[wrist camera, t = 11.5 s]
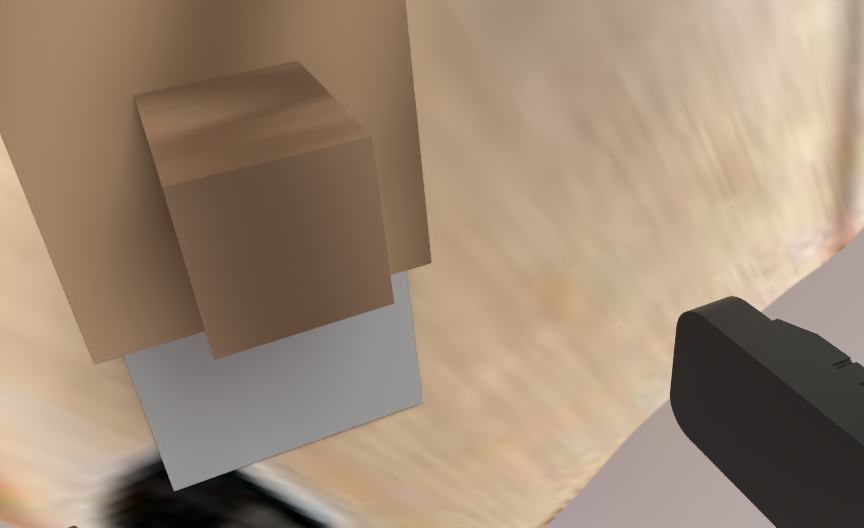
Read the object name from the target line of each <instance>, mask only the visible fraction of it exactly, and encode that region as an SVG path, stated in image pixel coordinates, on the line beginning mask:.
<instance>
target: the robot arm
mask: <svg viewBox="0 0 864 528" xmlns="http://www.w3.org/2000/svg"><path fill="white" fill-rule="evenodd" d="M670 401H671V406H672V410H673V413H674V416H675V418H676V420H677V422H678V424H679V426H680V427H681V429H682V431H683V432H684V433H685V435H686V436H687V437H688V438H689V439H690V440H691V441H692V442H693V443H694V444H695V445H696V446H697V447H698V448H699V449H700V450H701V451H702V452H703V453H704V454H705V455H706V456H707V457H708V458H709V459H710V460H711V461H712V462H713V464H715V466H716V467H717V468H718V469H719V470H721V472H722V473H723V474H724V475H725V476H726V477H727V478H728V479H729V480H730V481H731V482H732V483H733V484H734V485H735V486H736V487H737V488H738V489H739V490H740V491H741V492H742V493H743V494H744V495H745V496H746V497H747V498H748V499H749V500H750V501H751V502H752V503H753V504H754V505H755V506H756V507H757V508H758V509H759V510H760V511H761V512H762V513H763V514H764V515H765V516H766V517H767V518H768V519H769V520H770V521H771V522H772V523H773V524H774V525H775V527H776V528H864V367H863V366H862V365H860V364H859V363H857V362H856V363H852V362H851V360H850V357H849V356H847V355H846V354H845V353H843V352H842V351H840V350H839V349H838V348H836V347H835V346H833V345H832V344H830V343H829V342H828V341H826V340H825V339H823V338H822V337H820V336H819V335H818V334H815V333H813V332H810V331H808V330H805V329H802V328H800V327H797V326H795V325H792V324H790V323H787V322H785V321H782V320H779V319H776V320H773V321H772V320H770V319H769V318H768V317H766V316H765V315H764V314H762V313H761V312H759V311H758V310H757V309H755V308H754V307H753V306H751V305H750V304H749V303H747V302H746V301H744V300H743V299H741V298H738V297H734V296H731V297H726V298H724V299H721V300H718V301H715V302H712V303H709V304H707V305H704V306H701V307H698V308H695V309H693V310H690V311H687V312H684V313H683V314H682V315H681V316H680V317H679V319H678V322H677V327H676V337H675V348H674V358H673V368H672V378H671V388H670ZM69 528H77V527H76V526H71V527H69Z"/></svg>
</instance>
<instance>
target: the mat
mask: <svg viewBox="0 0 864 528" xmlns="http://www.w3.org/2000/svg"><path fill="white" fill-rule="evenodd" d="M391 283H392V290H393V298H394V304H391V305H388V306H385V307H382V308H379V309H376V310H372V311H369V312H366V313H363V314H360V315H356V316H353V317H350V318H347V319H344V320H340V321H337V322H334V323H331V324H328V325H325V326H321V327H318V328H315V329H312V330H309V331H305V332H302V333H299V334H296V335H293V336H289V337H286V338H283V339H280V340H277V341H273V342H270V343H267V344H264V345H261V346H258V347H254V348H251V349H248V350H245V351H242V352H238V353H235V354H232V355H229V356H226V357H222V358H219V359H216V360H214V358H213V355H212V351H211V348H210V345H209V342H208V338H207V335H206V332H205V331H204V332H201V333H198V334H194V335H191V336H188V337H184V338H181V339H178V340H174V341H171V342H168V343H164V344H161V345H158V346H155V347H151V348H148V349H145V350H141V351H138V352H135V353H131V354H128V355H125V356H123V357H124V360H125V363H126V365H127V368H128V371H129V373H130V376H131V378H132V381H133V384H134V386H135V389H136V392H137V394H138V397H139V400H140V402H141V405H142V408H143V410H144V413H145V415H146V418H147V421H148V423H149V426H150V429H151V431H152V434H153V437H154V439H155V442H156V445H157V447H158V450H159V452H160V455H161V458H162V460H163V463H164V466H165V468H166V471H167V474H168V476H169V479H170V482H171V484H172V487H173V489H174V491H176V490H179V489H182V488H185V487H188V486H190V485H193V484H196V483H199V482H202V481H204V480H207V479H210V478H213V477H216V476H219V475H221V474H224V473H227V472H230V471H233V470H235V469H238V468H241V467H244V466H247V465H249V464H252V463H255V462H258V461H261V460H263V459H266V458H269V457H272V456H275V455H277V454H280V453H283V452H286V451H289V450H291V449H294V448H297V447H300V446H303V445H305V444H308V443H311V442H314V441H317V440H319V439H322V438H325V437H328V436H331V435H333V434H336V433H339V432H342V431H345V430H347V429H350V428H353V427H356V426H359V425H362V424H364V423H367V422H370V421H373V420H376V419H378V418H381V417H384V416H387V415H390V414H392V413H395V412H398V411H401V410H404V409H406V408H409V407H412V406H415V405H418V404H420V403H422V396H421V387H420V379H419V371H418V362H417V354H416V346H415V338H414V329H413V321H412V313H411V304H410V296H409V288H408V280H407V271H403V272H400V273H396V274H393V275H391Z"/></svg>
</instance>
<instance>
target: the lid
mask: <svg viewBox="0 0 864 528" xmlns="http://www.w3.org/2000/svg"><path fill="white" fill-rule="evenodd" d="M0 134H1V137H2V139H3V142H4V144H5V147H6V149H7V151H8V154H9V156H10V159H11V161H12V164H13V166H14V169H15V171H16V174H17V176H18V178H19V181H20V183H21V186H22V188H23V191H24V193H25V196H26V198H27V201H28V203H29V205H30V208H31V210H32V213H33V215H34V218H35V220H36V223H37V225H38V228H39V230H40V232H41V235H42V237H43V240H44V242H45V245H46V247H47V250H48V252H49V255H50V257H51V259H52V262H53V264H54V267H55V269H56V272H57V274H58V277H59V279H60V282H61V284H62V287H63V289H64V291H65V294H66V296H67V299H68V301H69V304H70V306H71V309H72V311H73V314H74V316H75V318H76V321H77V323H78V326H79V328H80V331H81V333H82V336H83V338H84V341H85V343H86V345H87V348H88V350H89V353H90V355H91V358H92V360H93V363H94V365H95V364H98V363H102V362H105V361H108V360H111V359H115V358H118V357H121V356H125V355H128V354H131V353H135V352H138V351H141V350H145V349H148V348H151V347H155V346H158V345H161V344H164V343H168V342H171V341H174V340H178V339H181V338H184V337H188V336H191V335H194V334H198V333H201V332H204V331H205V332H206V335H207V338H208V342H209V345H210V348H211V351H212V355H213V358H214V360H216V359H219V358H222V357H226V356H229V355H232V354H235V353H238V352H242V351H245V350H248V349H251V348H254V347H258V346H261V345H264V344H267V343H270V342H273V341H277V340H280V339H283V338H286V337H289V336H293V335H296V334H299V333H302V332H305V331H309V330H312V329H315V328H318V327H321V326H325V325H328V324H331V323H334V322H337V321H340V320H344V319H347V318H350V317H353V316H356V315H360V314H363V313H366V312H369V311H372V310H376V309H379V308H382V307H385V306H388V305H391V304H394V298H393V290H392V283H391V275H393V274H396V273H400V272H403V271H406V270H410V269H413V268H416V267H420V266H423V265H426V264H429V263H431V254H430V244H429V234H428V224H427V214H426V204H425V194H424V184H423V174H422V164H421V153H420V143H419V133H418V123H417V113H416V103H415V93H414V83H413V73H412V63H411V53H410V43H409V33H408V23H407V13H406V3H405V0H0Z"/></svg>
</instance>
